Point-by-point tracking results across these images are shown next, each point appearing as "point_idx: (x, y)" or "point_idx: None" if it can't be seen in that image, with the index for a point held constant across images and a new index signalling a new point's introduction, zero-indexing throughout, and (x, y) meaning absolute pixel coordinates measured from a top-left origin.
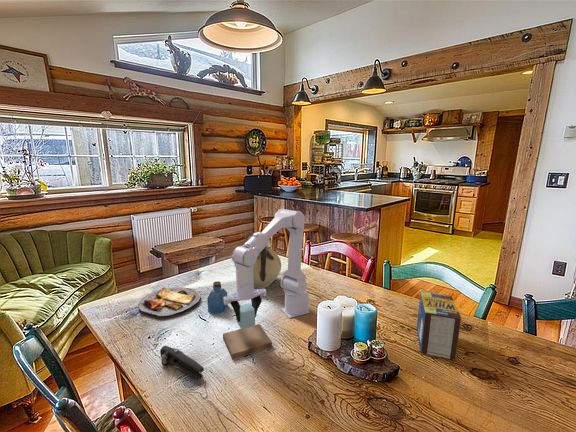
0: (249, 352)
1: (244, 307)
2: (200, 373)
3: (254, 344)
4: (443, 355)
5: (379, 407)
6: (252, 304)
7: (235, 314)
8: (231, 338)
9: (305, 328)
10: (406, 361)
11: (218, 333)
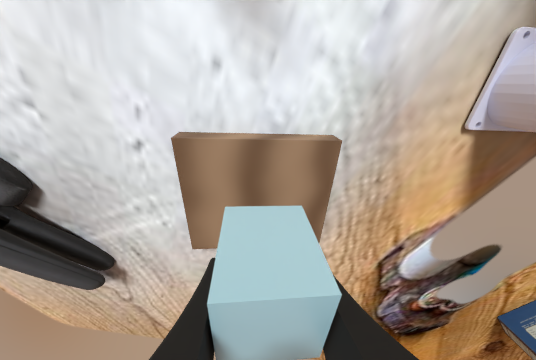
0: None
1: (268, 329)
2: (103, 264)
3: None
4: (508, 334)
5: None
6: (339, 337)
7: (199, 284)
8: (203, 183)
9: (443, 200)
10: (465, 321)
11: (160, 83)
